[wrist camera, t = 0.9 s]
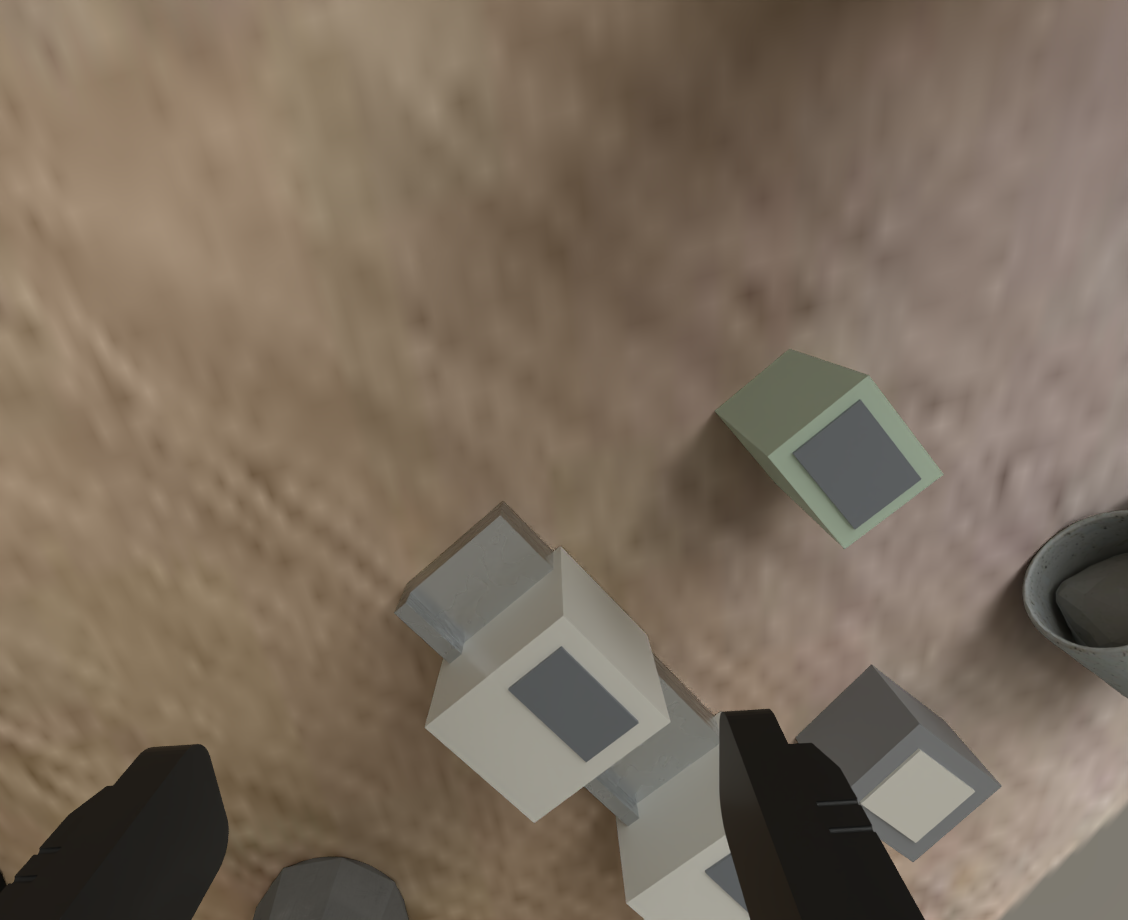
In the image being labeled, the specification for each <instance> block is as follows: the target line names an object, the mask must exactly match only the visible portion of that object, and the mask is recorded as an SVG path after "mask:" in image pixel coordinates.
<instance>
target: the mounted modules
mask: <svg viewBox="0 0 1128 920" xmlns="http://www.w3.org/2000/svg"><path fill="white" fill-rule="evenodd" d="M721 712H722V711H721ZM721 712H719V713H718V714H717V715H715V716H714V717H715V720H716V722H717V725H718V728H719V720H720V714H721ZM670 722H671V721H670V718H669V714H668V710H667V706H666V703H665V699H664V695H663V691H662V688H661V684H660V680H659V677H658V673H657V669H656V665H655V662H654V658H653V654H652V651H651V647H650V643H649V639H648V636H647V634H646V633H645V632H644V631H643V630H642V629H641V628H640V627H639V626H638V625H637V624H636V623H635V622H634V621H633V620H632V619H631V618H630V617H629V616H628V615H627V614H626V613H625V612H624V611H623V610H622V609H621V608H620V607H619V605H618V604H617V603H616V602H615V601H614V600H613V599H612V598H611V597H610V596H609V595H608V594H607V593H606V592H605V591H604V590H603V589H602V588H601V587H600V586H599V585H598V584H597V583H596V582H595V581H594V580H593V579H592V578H591V577H590V576H589V575H588V574H587V573H586V572H585V571H584V570H583V569H582V567H581V566H580V565H579V564H578V563H577V562H576V561H575V560H574V559H573V558H572V557H571V556H570V555H569V554H568V553H567V552H566V551H565V550H564V549H563V548H562V547H561V546H560V547H559V548H557V549H556V550H555V551H554V552H553V570H552V571H551V572H549V573H548V574H547V575H546V576H545V577H543V578H542V579H541V580H540V581H538V582H537V583H536V584H535V585H534V586H532V587H531V588H530V589H529V590H528V591H526V592H525V593H524V594H523V595H521V596H520V597H519V598H518V599H517V600H515V601H514V602H513V603H512V604H511V605H509V606H508V607H507V608H506V609H504V610H503V611H502V612H501V613H500V614H498V615H497V616H496V617H495V618H494V619H492V620H491V621H490V622H489V623H488V624H486V625H485V626H484V627H483V628H481V629H480V630H479V631H478V632H477V633H475V634H474V635H473V636H472V637H471V638H469V639H468V640H467V641H466V642H464V645H463V650H462V654H461V655H460V656H459V657H457V658H456V659H455V660H454V661H453V662H451V663H450V664H449V663H448V662H447V661H446V660H445V659H444V658H443V661H442V665H441V668H440V672H439V676H438V679H437V683H436V687H435V691H434V694H433V698H432V702H431V705H430V709H429V713H428V716H427V720H426V724H425V728H426V729H427V730H428V731H429V732H430V733H432V734H433V735H434V736H435V737H436V738H437V739H438V740H440V741H441V742H442V743H443V744H444V745H445V746H446V747H448V748H449V749H450V750H451V751H452V752H453V753H454V754H456V755H457V756H458V757H459V758H460V759H461V760H462V761H464V762H465V763H466V764H467V765H468V766H469V767H471V768H472V769H473V770H474V771H475V772H476V773H477V774H479V775H480V776H481V777H482V778H483V779H484V780H485V781H487V782H488V783H489V784H490V785H491V786H492V787H493V788H495V789H496V790H497V791H498V792H499V793H500V794H501V795H503V796H504V797H505V798H506V799H507V800H508V801H509V802H511V803H512V804H513V805H514V806H515V807H516V808H518V809H519V810H520V811H521V812H522V813H523V814H524V815H526V816H527V817H528V818H529V819H530V820H531V821H532V822H534V823H535V822H536V821H538V820H539V819H540V818H542V817H543V816H544V815H546V814H547V813H549V812H550V811H551V810H553V809H554V808H555V807H557V806H558V805H559V804H561V803H562V802H563V801H565V800H566V799H567V798H569V797H570V796H572V795H573V794H574V793H576V792H577V791H578V790H580V789H581V788H582V787H584V786H585V785H586V784H588V783H589V782H590V781H592V780H593V779H594V778H596V777H597V776H599V775H600V774H601V773H603V772H604V771H605V770H607V769H608V768H609V767H611V766H612V765H613V764H615V763H616V762H617V761H619V760H620V759H621V758H623V757H624V756H626V755H627V754H628V753H630V752H631V751H632V750H634V749H635V748H636V747H638V746H639V745H640V744H642V743H643V742H644V741H646V740H647V739H649V738H650V737H651V736H653V735H654V734H655V733H657V732H658V731H659V730H661V729H662V728H663V727H665V726H666V725H667V724H669V723H670ZM637 808H638V814H639V819H637V820H636V821H635V822H633V823H632V824H631V825H629V826H627V825H626V824H624V823H623V822H622V821H621V820H620V819H619V818H618V817H617V816H616V824H617V832H618V840H619V848H620V856H621V865H622V873H623V881H624V889H625V897H626V904H628V905H629V906H630V907H631V908H632V909H633V910H634V911H636V912H637V913H638V914H639V915H640V916H641V917H643V918H644V919H645V920H750V917H749V914H748V911H747V907H746V904H745V900H744V897H743V893H742V890H741V887H740V883H739V880H738V876H737V873H736V869H735V866H734V863H733V859H732V856H731V852H730V849H729V846H728V842H727V839H726V835H725V831H724V826H723V820H722V814H721V807H720V796H719V745H717V746H716V747H714V748H713V749H712V750H710V751H709V752H708V753H706V754H705V755H703V756H702V757H701V758H699V759H698V760H696V761H695V762H694V763H692V764H691V765H689V766H688V767H687V768H685V769H684V770H683V771H681V772H680V773H678V774H677V775H676V776H674V777H673V778H671V779H670V780H669V781H667V782H666V783H665V784H663V785H662V786H660V787H659V788H658V789H656V790H655V791H653V792H652V793H651V794H649V795H648V796H646V797H645V798H644V799H642V800H641V801H640V802H638V803H637Z"/></svg>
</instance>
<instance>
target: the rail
mask: <svg viewBox="0 0 1128 920" xmlns="http://www.w3.org/2000/svg"><path fill="white" fill-rule="evenodd" d="M552 570H553V551H552V550H551V549H550V548H549V547H548V546H547V545H546V544H545V543H544V542H543V541H542V540H541V539H540V538H539V537H538V536H537V535H536V534H535V533H534V532H533V531H532V530H531V529H530V528H529V527H528V526H527V525H526V524H525V523H524V522H523V521H522V520H521V519H520V518H519V517H518V515H517V514H516V513H515V512H514V511H513V510H512V509H511V508H510V507H509V506H508V505H507V504H506V503H505V502H504V501H502V502H501V503H500V504H499V505H498V506H497V507H495V508H494V509H493V510H492V511H491V512H490V513H489V514H487V515H486V516H485V517H484V518H483V519H482V520H480V521H479V522H478V523H477V524H476V525H475V526H473V527H472V528H471V529H470V530H469V531H468V532H467V533H465V534H464V535H463V536H462V537H461V538H460V539H458V540H457V541H456V542H455V543H454V544H453V545H451V546H450V547H449V548H448V549H447V550H446V551H445V552H443V553H442V554H441V555H440V556H439V557H438V558H436V559H435V560H434V561H433V562H432V563H431V564H429V565H428V566H427V567H426V568H425V569H424V570H423V571H421V572H420V573H419V574H418V575H417V576H416V577H414V578H413V579H412V580H411V581H410V582H409V583H407V585H406V588H405V590H404V592H403V594H402V596H401V599H400V601H399V603H398V605H397V608H396V610H395V612H394V613H395V614H396V615H397V616H398V617H399V618H400V619H401V620H402V621H403V622H404V623H406V624H407V625H408V626H409V627H410V628H411V629H412V630H413V631H414V632H415V633H416V634H418V635H419V636H420V637H421V638H422V639H423V640H424V641H425V642H426V643H427V644H429V645H430V646H431V647H432V648H433V649H434V650H435V651H436V652H437V653H438V654H439V655H441V656H442V657H443V658H444V659H445V660H446V661H447V662H448V663H449V664H450V663H451V662H453V661H454V660H455V659H456V658H457V657H459V656H460V655H461V654H462V650H463V645H464V642H466V641H467V640H468V639H469V638H471V637H472V636H473V635H474V634H475V633H477V632H478V631H479V630H480V629H481V628H483V627H484V626H485V625H486V624H488V623H489V622H490V621H491V620H492V619H494V618H495V617H496V616H497V615H498V614H500V613H501V612H502V611H503V610H504V609H506V608H507V607H508V606H509V605H511V604H512V603H513V602H514V601H515V600H517V599H518V598H519V597H520V596H521V595H523V594H524V593H525V592H526V591H528V590H529V589H530V588H531V587H532V586H534V585H535V584H536V583H537V582H538V581H540V580H541V579H542V578H543V577H545V576H546V575H547V574H548V573H549V572H551V571H552ZM652 654H653V653H652ZM653 658H654V662H655V665H656V669H657V673H658V677H659V680H660V684H661V688H662V691H663V695H664V699H665V703H666V706H667V710H668V714H669V718H670V721H671V722H670V723H669V724H667V725H666V726H665V727H663V728H662V729H661V730H659V731H658V732H657V733H655V734H654V735H653V736H651V737H650V738H649V739H647V740H646V741H644V742H643V743H642V744H640V745H639V746H638V747H636V748H635V749H634V750H632V751H631V752H630V753H628V754H627V755H626V756H624V757H623V758H621V759H620V760H619V761H617V762H616V763H615V764H613V765H612V766H611V767H609V768H608V769H607V770H605V771H604V772H603V773H601V774H600V775H599V776H597V777H596V778H594V779H593V780H592V781H590V782H589V783H588V784H586V785H585V786H584V787H585V788H586V789H587V790H588V791H589V792H590V793H592V794H593V795H594V796H595V797H596V798H597V799H598V800H599V801H600V802H601V803H603V804H604V805H605V806H606V807H607V808H608V809H609V810H610V811H611V812H612V813H613V814H615V815H616V816H617V817H618V818H619V819H620V820H621V821H622V822H623V823H624V824H626V825H627V826H629V825H631V824H632V823H633V822H635V821H636V820H637V819H639V814H638V808H637V803H638V802H640V801H641V800H642V799H644V798H645V797H646V796H648V795H649V794H651V793H652V792H653V791H655V790H656V789H658V788H659V787H660V786H662V785H663V784H665V783H666V782H667V781H669V780H670V779H671V778H673V777H674V776H676V775H677V774H678V773H680V772H681V771H683V770H684V769H685V768H687V767H688V766H689V765H691V764H692V763H694V762H695V761H696V760H698V759H699V758H701V757H702V756H703V755H705V754H706V753H708V752H709V751H710V750H712V749H713V748H714V747H716V746H717V745H719V728H718V725H717V722H716V720H715V717H714V715H713V714H712V713H711V712H710V711H709V710H708V709H707V708H706V707H705V706H704V705H703V704H702V703H701V702H700V701H699V700H698V699H697V698H696V697H695V696H694V695H693V694H692V693H691V692H690V691H689V690H688V689H687V688H686V687H685V686H684V685H683V684H682V683H681V682H680V681H679V680H678V679H677V678H676V677H675V676H674V675H673V674H672V673H671V672H670V671H669V670H668V669H667V667H666V666H665V665H664V664H663V663H662V662H661V661H660V660H659V659H658V658H657V657H656V656H655V655H654V654H653Z"/></svg>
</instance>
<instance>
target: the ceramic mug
mask: <svg viewBox="0 0 1128 920" xmlns="http://www.w3.org/2000/svg"><path fill="white" fill-rule="evenodd" d="M1022 592H1023V602H1024V606H1025V609H1026V612H1027V614H1028V616H1029V618H1030V620H1031V621H1032V623H1033V624H1034V626H1035V627H1036V628H1037V629H1038V630H1039V631H1040V633H1041V634H1042V635H1043V636H1045V637H1046V638H1047V639H1048V640H1050V641H1051V642H1052V643H1053V644H1055V645H1056V646H1058V647H1059V648H1061V649H1062V650H1063V651H1065V652H1066V653H1067V654H1069V655H1070V656H1071V657H1073V658H1074V659H1075V660H1077V661H1078V662H1079V663H1080V664H1082V665H1083V666H1084V667H1086V668H1087V669H1089V670H1090V671H1092V672H1093V673H1094V674H1096V675H1097V676H1098V677H1100V678H1101V679H1102V680H1104V681H1105V682H1106V683H1108V684H1109V685H1110V686H1111V687H1113V688H1114V689H1115V690H1117V691H1118V692H1119V693H1121V694H1122V695H1123V696H1125V697H1126V698H1128V510H1119V511H1111V512H1106V513H1101V514H1097V515H1094V516H1091V517H1088V518H1085V519H1083V520H1080V521H1078V522H1075V523H1074V524H1072V525H1070V526H1069V527H1067V528H1065V529H1064V530H1062V531H1060V532H1059V533H1058V534H1056V535H1055V536H1054V537H1053V538H1051V539H1050V540H1049V541H1048V542H1046V544H1045V545H1044V546H1043V547H1042V548H1041V549H1040V550H1039V551H1038V552H1037V554H1036V555H1035V556H1034V557H1033V559H1032V561H1031V563H1030V565H1029V566H1028V568H1027V571H1026V574H1025V578H1024V582H1023V587H1022Z"/></svg>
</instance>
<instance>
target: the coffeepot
mask: <svg viewBox="0 0 1128 920" xmlns="http://www.w3.org/2000/svg"><path fill="white" fill-rule="evenodd" d="M253 920H409V919H408V915H407V911H406V907H405V903H404V899H403V897H402V895H401V893H400V891H399V889H398V888H397V886H396V884H395V882H394V881H392V880H391V879H390V878H389V877H387V876H386V875H385V874H383V873H382V872H380V871H379V870H377V869H375V868H374V867H372V866H370V865H368V864H365V863H362V862H360V861H357V860H352V859H348V858H343V857H321V858H313V859H310V860H306V861H302V862H300V863H298V864H295V865H293V866H291V867H286V868H283V870H282V871H281V872H280V874H279V875H278V877H277V878H276V879H275V880H274V882H273V883H272V884H271V886H270V888H269V890H268V891H267V893H266V894H265V895H264V897H263V898H262V900H261V901H260V903H259V904H258V906H257V907H256V911H255V914H254V918H253Z"/></svg>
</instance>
